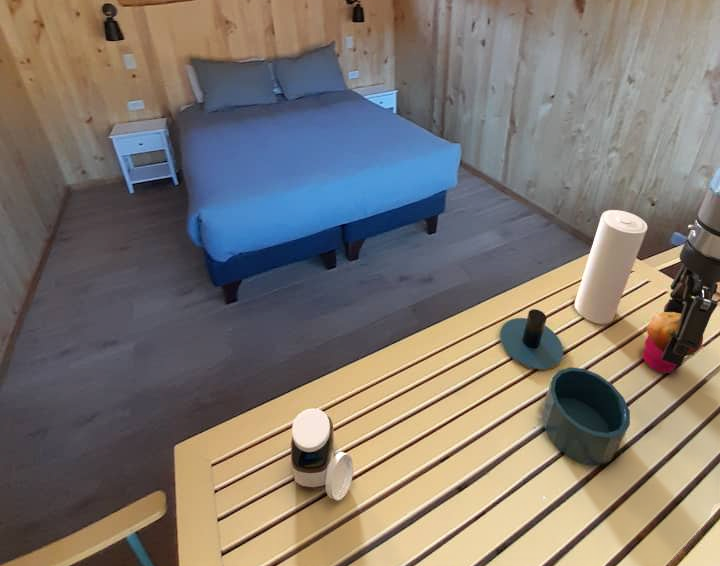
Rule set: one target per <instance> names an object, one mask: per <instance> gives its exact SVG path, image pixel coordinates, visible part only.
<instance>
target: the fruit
mask: <svg viewBox="0 0 720 566" xmlns="http://www.w3.org/2000/svg"><path fill="white" fill-rule="evenodd" d="M680 317H681V313H675V312H664V311H662V312H659V313H657V314H656V315H654V316H652V318H651V320H650V322H649V323H648V324H647V327H646V334H647V335H648V336H649V337H650V339H651V341H652V343H653V344H654V345H655V346H656V347H657V348H659V349H660V350H661V351H662V352H664V350H665V348H666V346H667V344H668V342H669V340H670V338H671V336H670V332H676V331H677V327H678V324H679V321H680ZM703 342H704V335H703V336H702V338H701V341H700V343H699V345H698V348H697V350H695V349H692V348H689V350H688V352H687V354H686V356H685V357H687V356H688V357H689V356H691V355H693V356H694V357H696V355H695V353H696V352H698V351H699V350H700V348H701V347H702V346H703Z"/></svg>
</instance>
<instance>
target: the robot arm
mask: <svg viewBox="0 0 720 566" xmlns="http://www.w3.org/2000/svg"><path fill="white" fill-rule="evenodd" d="M687 229H688V231H690V232H689V233H688V236H687V239H686V240H685V241H684V244H683V246H682V248H681V251H680V253H679V260H680V261H679V262H681V266H680V269H679V270H678V271H677V273H676V275H675V277H674V279H673V281H672V283H671V284H670V286H669V287H670V290H671V292H670V294H669V296H670V298H669V299H668V301H667V302H666V304H667V306H666V308H665V310H664V309H663V312H675V313H681V317H680V321H679V324H678V327H677V331H676V332H670V336H671V338H670V340H669V342H668V344H667V346H666V348H665V350H664V352H663V354H662V360H664V361H667V362H670V363H672V364H675V365H676V366H678V367H681V365H682V363H683V362H684V359H685V358H686V357H687V356H686V354H687V352H688V350H689V348H692V349H695V350H697V348H698V345H699V343H700V341H701V338H702V336H703V337H704V334H705V331H706V329H707V326H708V324H709V321H710V319H711V317H712V314H713V313H714V312H715V310H716V308H717V307H718V301H717V300H714V299H713V296H714V295H715V294H716V293H717V291H718V286H719V284H718V283H720V166H719V167H718V169H717V170H716V171H715V174H714V176H713V177H712V180H710V182H709V184H708V189H707V192H706V194H705V197H704V198H703V201H702V203H701V206H700V208H699V210H698V213H697V215H696V218H695V220H694V223H693V224H690V223H689V224H688V226H687ZM683 302H685V304H684V303H683ZM697 351H698V350H697Z"/></svg>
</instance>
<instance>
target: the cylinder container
mask: <svg viewBox="0 0 720 566" xmlns="http://www.w3.org/2000/svg"><path fill="white" fill-rule="evenodd" d="M647 231H648V224H647V223H646V221H644V219H642V218H641V217H640V216H638V215H636V214H634V213H631V212H628V211H625V210H620V209H619V210H618V209H609V210H605V211H603V212H602V214H601V216H600V218H599V222H598V226H597V230H596V233H595V235H594V239H593V243H592V245H591V247H590V252H589V255H588V259H587V260H586V261H587V262H586V265H585V269H584V272H583V274H582V278H581V281H580V285H579V288H578V291H577V294H576V297H575V300H574V308H575V310H576V312H577V313H578V314H579V315H580V316H581V317H583V319H586V320H588V321H589V322H591V323H594V324H598V325H607V324H610V323H612V322H613V320H614V318H615V315H616V313H617V310H618V308H619V305H620V303H621V299H622V297H623V294H624V291H625V289H626V286H627V284H628V281H629V278H630V276H631V273H632V270H633V267H634V265H635V263H636V259H637V257H638V254H639V252H640V249H641V247H642V244H643V241H644V238H645V236H646V233H647Z"/></svg>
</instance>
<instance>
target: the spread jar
mask: <svg viewBox="0 0 720 566" xmlns="http://www.w3.org/2000/svg"><path fill="white" fill-rule="evenodd" d="M335 443H336V442H335V431H334V423H333V420H332V418H331V417H330V416H329V415H327V414H326V413H325V411H323V410H321V409H319V408H308V409H305V410H303V411H301V412H300V413H299V414H298V415H297V416H296V417H295V419H294V421H293V422H292V426H291V442H290V461H291V470H292V474H293V479H294V481H295V482H296V483H297V484H298V485H300V486H303V487H306V488H317V487H323V486H325V491H326V494H327V497H329V498H330V499H333V500H335V501H341V500H342V499H344V498H345V496H347V493H348V491H349V490H350V487H351V484H352V481H353V475H354V461H353V458H352V456H351V454H349V453H346V452H344V451H339V452H337V453H336V445H335Z"/></svg>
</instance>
